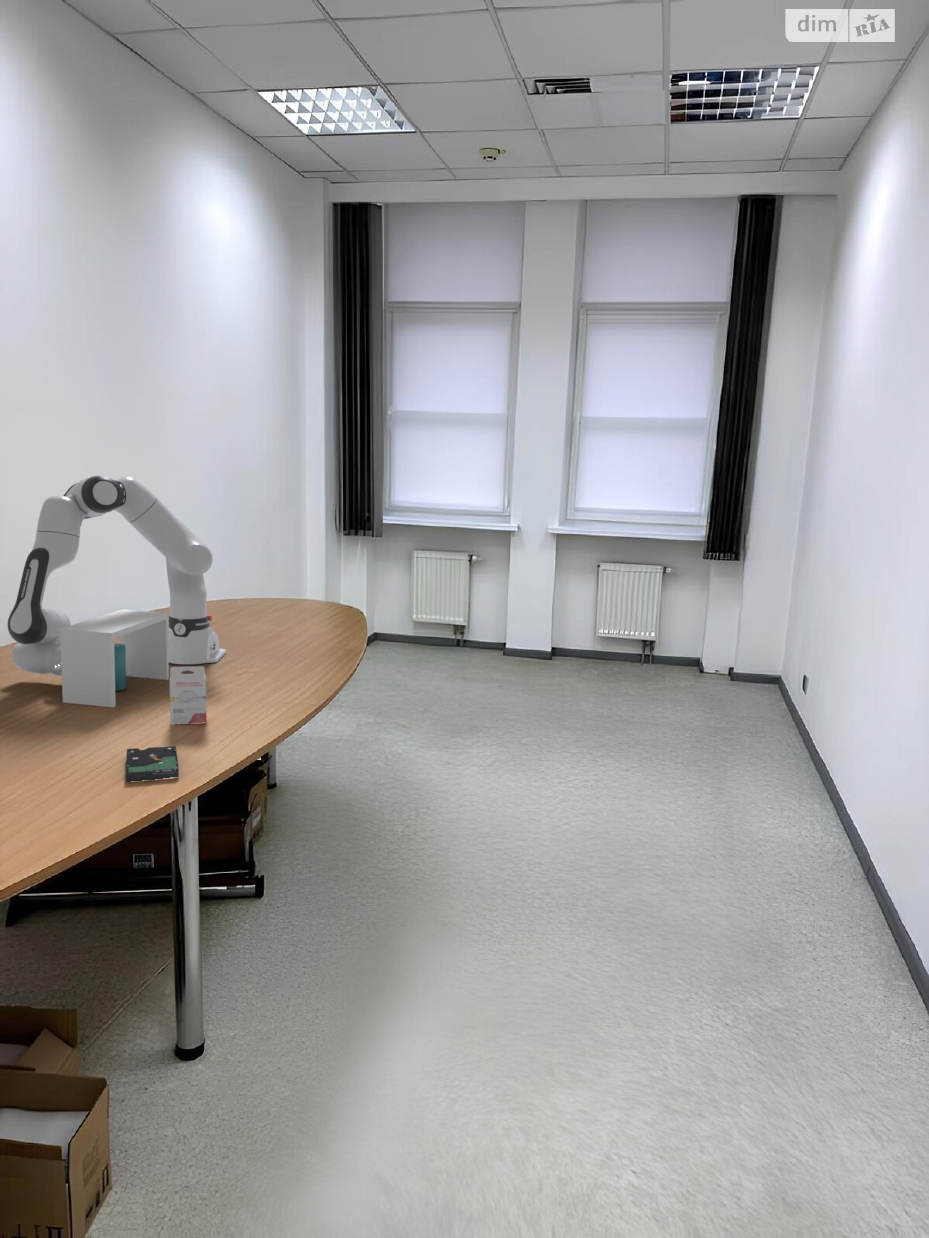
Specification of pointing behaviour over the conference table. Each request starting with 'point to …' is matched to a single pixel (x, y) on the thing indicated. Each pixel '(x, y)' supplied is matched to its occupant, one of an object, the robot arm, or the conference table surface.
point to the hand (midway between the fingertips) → (118, 665)
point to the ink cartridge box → (187, 695)
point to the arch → (112, 654)
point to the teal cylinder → (120, 666)
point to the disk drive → (151, 763)
